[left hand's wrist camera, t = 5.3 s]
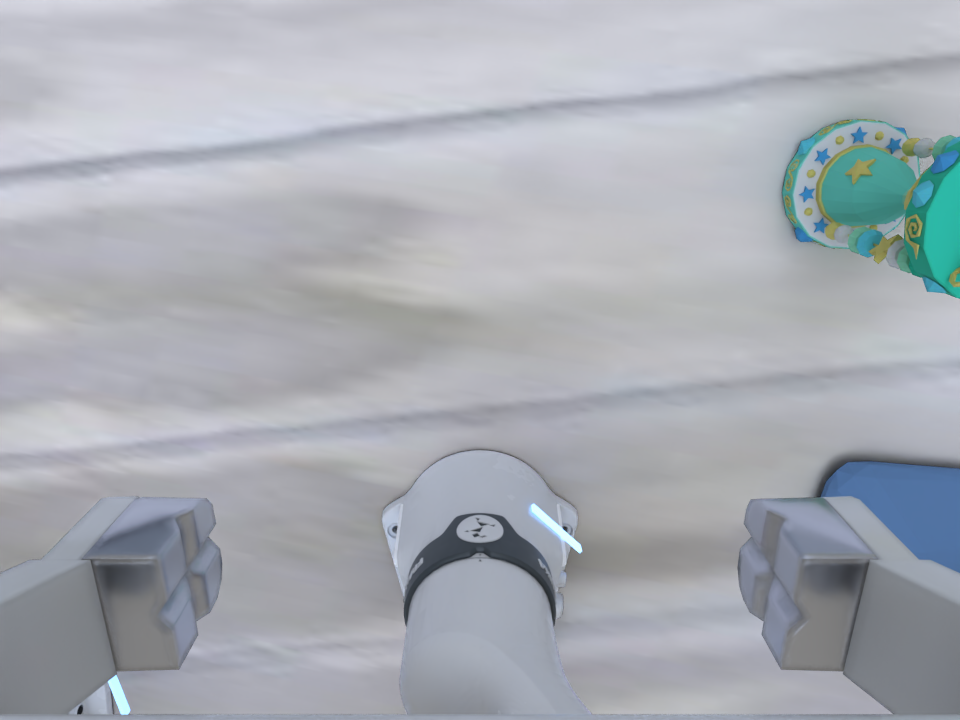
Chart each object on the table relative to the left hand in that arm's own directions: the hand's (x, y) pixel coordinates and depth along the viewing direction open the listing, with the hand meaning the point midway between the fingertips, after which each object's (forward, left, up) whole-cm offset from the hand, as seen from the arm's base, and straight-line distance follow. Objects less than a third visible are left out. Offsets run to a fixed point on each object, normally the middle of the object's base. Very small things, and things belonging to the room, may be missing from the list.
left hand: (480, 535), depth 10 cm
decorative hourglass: (0, -29, -48) cm, 56 cm away
